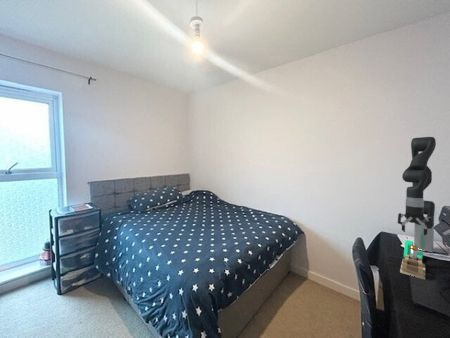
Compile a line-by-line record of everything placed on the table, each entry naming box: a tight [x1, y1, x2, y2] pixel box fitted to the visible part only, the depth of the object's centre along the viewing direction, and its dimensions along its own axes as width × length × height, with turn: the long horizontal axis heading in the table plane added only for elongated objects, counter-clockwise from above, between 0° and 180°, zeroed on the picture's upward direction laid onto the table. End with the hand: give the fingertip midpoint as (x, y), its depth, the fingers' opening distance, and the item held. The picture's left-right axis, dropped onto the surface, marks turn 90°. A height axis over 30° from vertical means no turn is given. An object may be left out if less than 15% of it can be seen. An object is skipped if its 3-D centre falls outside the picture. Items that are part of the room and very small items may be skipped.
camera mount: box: [403, 239, 424, 260], centre depth 124 cm, size 12×8×10 cm, turn 131°
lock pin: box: [410, 244, 419, 260], centre depth 115 cm, size 3×3×10 cm
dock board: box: [399, 255, 426, 280], centre depth 111 cm, size 18×10×5 cm, turn 135°
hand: (414, 233), depth 115 cm, fingers open, 8 cm apart
